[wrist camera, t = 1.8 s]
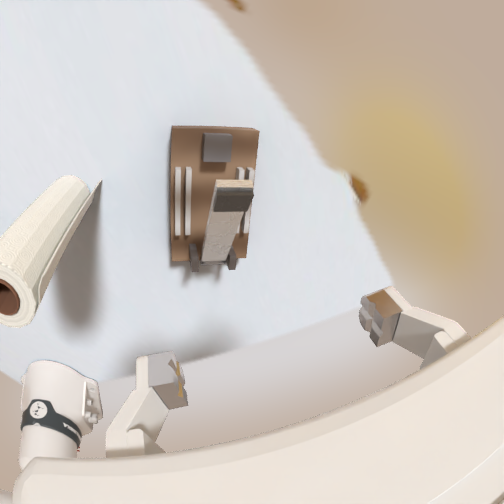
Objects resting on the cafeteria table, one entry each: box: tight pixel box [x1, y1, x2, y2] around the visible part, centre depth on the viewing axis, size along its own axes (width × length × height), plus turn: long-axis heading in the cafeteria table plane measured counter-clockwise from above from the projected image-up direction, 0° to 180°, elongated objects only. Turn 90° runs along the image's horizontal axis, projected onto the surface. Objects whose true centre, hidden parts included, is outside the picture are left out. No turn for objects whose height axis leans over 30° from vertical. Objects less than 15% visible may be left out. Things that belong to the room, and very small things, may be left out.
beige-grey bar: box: [200, 180, 254, 265], centre depth 31 cm, size 16×3×2 cm
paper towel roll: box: [0, 175, 102, 328], centre depth 25 cm, size 7×6×21 cm
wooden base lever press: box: [170, 126, 259, 272], centre depth 36 cm, size 17×10×6 cm, turn 174°
